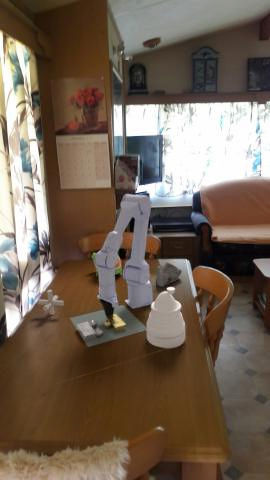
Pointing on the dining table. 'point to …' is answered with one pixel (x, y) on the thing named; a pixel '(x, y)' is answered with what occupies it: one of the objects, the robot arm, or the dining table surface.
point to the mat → (109, 334)
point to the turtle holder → (116, 269)
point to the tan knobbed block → (114, 323)
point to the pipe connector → (50, 302)
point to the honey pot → (166, 321)
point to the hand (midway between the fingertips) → (109, 317)
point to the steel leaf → (89, 330)
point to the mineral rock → (167, 274)
